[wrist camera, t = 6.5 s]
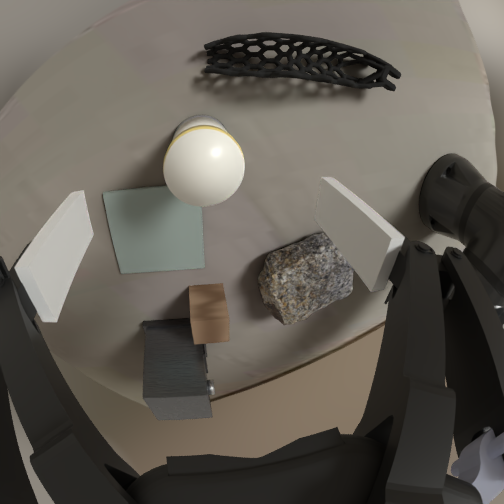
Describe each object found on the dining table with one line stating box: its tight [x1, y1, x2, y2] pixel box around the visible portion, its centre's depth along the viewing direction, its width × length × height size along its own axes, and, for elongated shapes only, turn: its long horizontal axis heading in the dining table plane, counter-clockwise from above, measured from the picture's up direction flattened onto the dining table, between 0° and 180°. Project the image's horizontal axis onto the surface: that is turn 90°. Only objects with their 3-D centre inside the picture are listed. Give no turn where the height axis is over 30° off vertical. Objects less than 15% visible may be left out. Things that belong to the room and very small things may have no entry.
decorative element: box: [204, 32, 401, 91], centre depth 22 cm, size 22×5×6 cm, turn 91°
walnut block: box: [189, 283, 229, 344], centre depth 38 cm, size 5×5×7 cm
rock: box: [258, 233, 354, 325], centre depth 39 cm, size 13×6×15 cm
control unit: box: [143, 318, 215, 420], centre depth 39 cm, size 10×10×14 cm
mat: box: [103, 186, 205, 274], centre depth 33 cm, size 12×12×1 cm
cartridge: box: [163, 115, 245, 207], centre depth 23 cm, size 6×6×11 cm
